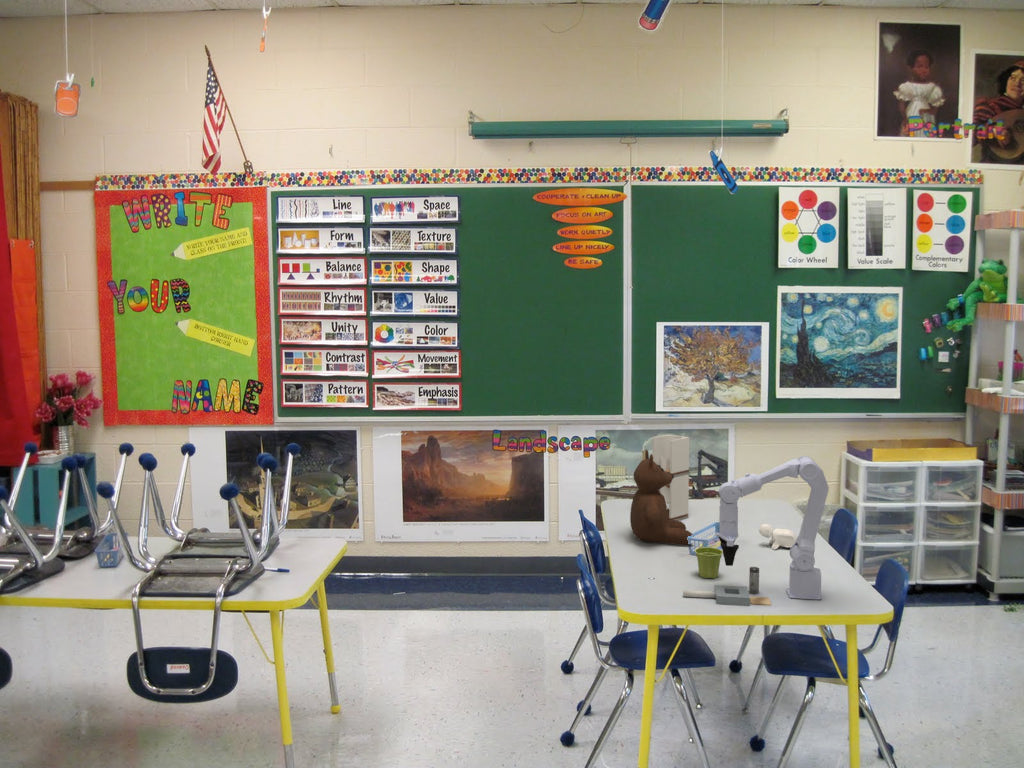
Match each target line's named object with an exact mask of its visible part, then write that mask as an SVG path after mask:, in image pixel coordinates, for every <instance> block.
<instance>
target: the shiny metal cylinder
mask: <svg viewBox="0 0 1024 768" xmlns="http://www.w3.org/2000/svg"><path fill="white" fill-rule="evenodd" d="M748 576H749V583H748V593H749V594H752V595H758V594H760V568H759V567H758V566H750V567H749V575H748Z"/></svg>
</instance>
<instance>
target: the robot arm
mask: <svg viewBox="0 0 1024 768" xmlns="http://www.w3.org/2000/svg"><path fill="white" fill-rule="evenodd" d="M824 473H825V472H824V471H823V469H822V468H821V467H820V466H819V465H818V463H816V461H815V460H814V459H813V457H810V456H807V455H803V456H799V457H798V458H793V459H791V460H789V461H787V462H784V463H782V464H780V465H778V466H776V467H773V468H770V469H768V470H767V471H764V472H763V473H759V474H756V473H749V472H746V473H745V474H744V476H742V477H740V478H737V479H732V480H730V481H731V482H729V481H727V482H723V483H722V484H721V485H720V487H719V489H718V494H719V496H720V498H719V499H720V500H719V520H718V521H719V530H718V531H719V532H715V536H716V537H718V539H719V541H720V543H719V544H720V545H719V546H720V547H721V550H722V551H723V554H722V556H723V559H724V563H725V566H727V567H730V566H731V567H733V566H734V562H735V558H736V557H735V556H736V554H737V551H738V549H739V547H740V544H734V543H735V542H736V540H737V538H739V532H738V530H739V527H738V525H739V506H738V501H739V500H740V498H743V497H746V496H748V495H751V494H753V493H757V492H758V491H761V489H762V487H763V486H764V485H765V484H768V483H771V482H774V481H778V480H779V479H782V478H783V479H784V478H786V477H790V478H794V479H799V476H800V478H801V479H802V480H803V481H805V482H806V484H807V485H808V486H809V487H810V493H809V496H808V500H807V504H806V508H805V511H804V515H803V519H802V523H801V526H800V530H799V534H798V535H797V536H796V541H795V544H794V545H793V546H792V547H790V549H789V556H790V558H791V559H792V561H791V563H790V564H789V580H788V581H789V582H788V583H789V584H788V586H789V587H786V588H785V590H786V593H787V596H789V597H788V598H790V599H802V600H821V599H822V572H821V569H820V568H816V567H814V566H815V564H816V560H815V551H816V546H815V545H816V544H815V542H816V538H817V534H818V531H819V527H820V522H821V519H822V516H823V512H824V507H825V506H826V501H827V497H828V493H829V490H830V489H829V485H828V482H827V478H826V476H825V474H824Z"/></svg>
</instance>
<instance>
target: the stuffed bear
mask: <svg viewBox="0 0 1024 768" xmlns="http://www.w3.org/2000/svg"><path fill="white" fill-rule="evenodd" d="M673 478H674V476H673V475H671V474H669V473H666V472H664V469H663V468H661V466H660V465H657V464H656V463H655V462H654V461H653V455H652V453H651V454H649V450H648V449H645V452H644V459H643V460H641V461H640V462H639V463H638V465H637V467H636V468H635V470H634V471H633V481H634V482H635V484H636V485H637V488H638V489H637V490H636V491H635V493H634V495H633V497H632V502H631V506H630V515H629V518H630V519H629V521H630V527H631V531H632V533H633V535H634V536H635V538H636V539H638V540H639V541H640V542H645V543H652V544H654V543H655V544H668V545H669V544H671V545H676V546H677V545H678V546H679V545H680V546H689V545H688V540H687V537H688V536H691V535H693V533H692V532H690V531H689V530H687V527H686V525H685V523H684V522H682V521H681V520H680V521H677V520H668V512H667V509H668V508H667V503H666V502H665V498H664V496H663V495H662V494H661V493H660V489H661V488H662V487H664V486H665V485H668V484H670V483H671V482H672V479H673ZM693 536H694V535H693Z"/></svg>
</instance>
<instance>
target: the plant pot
mask: <svg viewBox="0 0 1024 768" xmlns="http://www.w3.org/2000/svg"><path fill="white" fill-rule="evenodd" d="M694 552H695V556H696V558H697V565H698V572H699V573H698V574H699V576H700V578H704V579H709V578H711V579H716V578H718V576H719V570H720V564H721V559H722V556H723V550H722V549H719V548H716V547H710V546H709V547H708V546H704V547H698V548H695V549H694Z"/></svg>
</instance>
